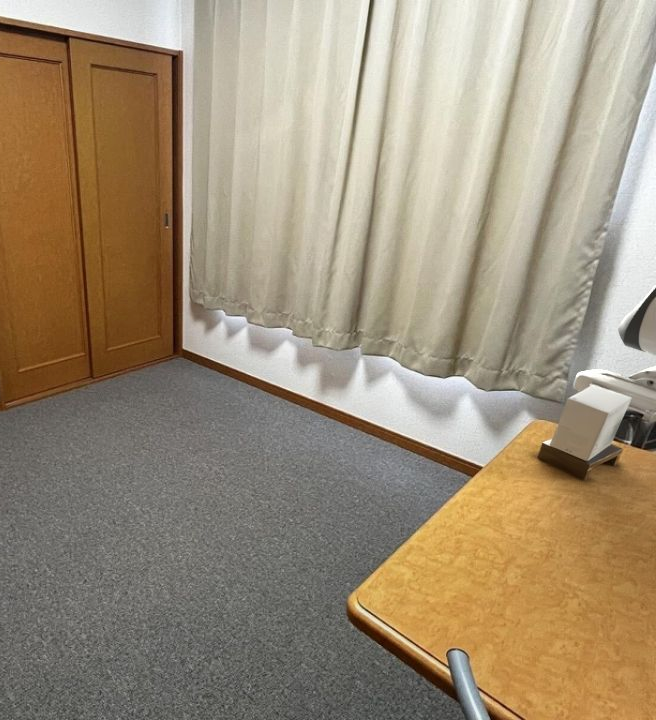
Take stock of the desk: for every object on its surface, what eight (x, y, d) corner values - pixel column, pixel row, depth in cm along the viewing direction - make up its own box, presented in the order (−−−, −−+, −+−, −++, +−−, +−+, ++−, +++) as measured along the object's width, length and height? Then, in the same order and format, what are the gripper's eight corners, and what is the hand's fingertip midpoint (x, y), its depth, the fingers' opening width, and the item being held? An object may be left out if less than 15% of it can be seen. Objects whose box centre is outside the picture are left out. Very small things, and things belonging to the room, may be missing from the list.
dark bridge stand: (616, 466, 90) (623, 448, 89) (582, 482, 86) (589, 464, 85) (569, 445, 97) (575, 428, 96) (536, 459, 93) (542, 442, 91)
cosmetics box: (589, 463, 85) (609, 412, 81) (548, 446, 90) (565, 397, 86) (613, 445, 90) (634, 396, 86) (573, 429, 95) (591, 383, 91)
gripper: (599, 358, 103) (562, 370, 98) (731, 397, 86) (694, 415, 81) (590, 384, 106) (553, 397, 100) (716, 427, 89) (679, 446, 83)
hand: (617, 406), depth 90 cm, fingers open, 8 cm apart
